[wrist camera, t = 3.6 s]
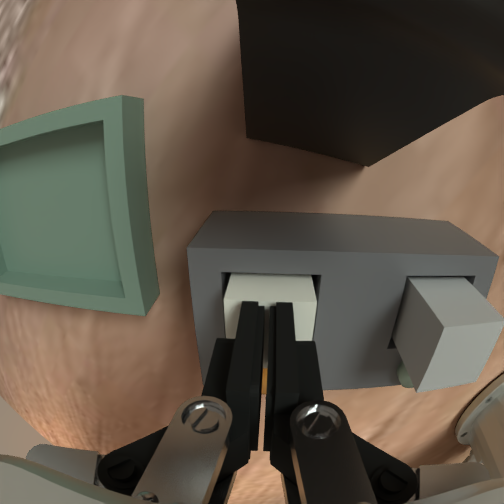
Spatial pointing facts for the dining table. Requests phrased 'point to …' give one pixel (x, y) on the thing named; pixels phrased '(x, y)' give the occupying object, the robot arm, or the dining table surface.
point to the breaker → (444, 331)
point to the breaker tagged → (271, 301)
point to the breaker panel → (333, 280)
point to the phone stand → (365, 70)
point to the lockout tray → (78, 208)
